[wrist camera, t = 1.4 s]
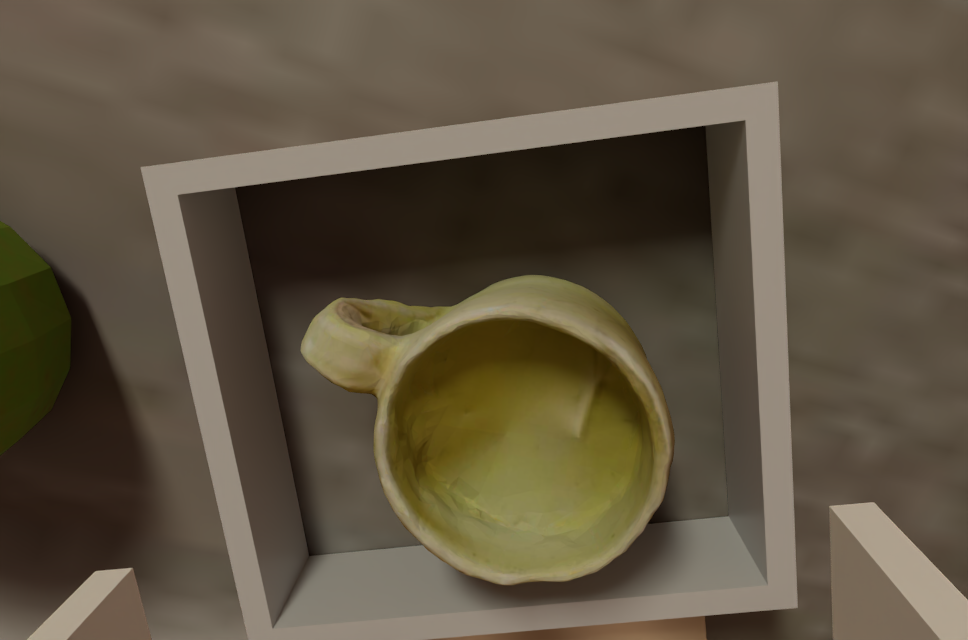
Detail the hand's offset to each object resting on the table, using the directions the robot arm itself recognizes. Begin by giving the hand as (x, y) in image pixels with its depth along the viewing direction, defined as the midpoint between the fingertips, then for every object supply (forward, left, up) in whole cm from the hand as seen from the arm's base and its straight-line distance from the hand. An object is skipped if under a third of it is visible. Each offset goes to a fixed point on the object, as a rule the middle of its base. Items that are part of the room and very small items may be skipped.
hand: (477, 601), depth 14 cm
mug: (0, 0, -17) cm, 17 cm away
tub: (0, 0, -17) cm, 17 cm away
